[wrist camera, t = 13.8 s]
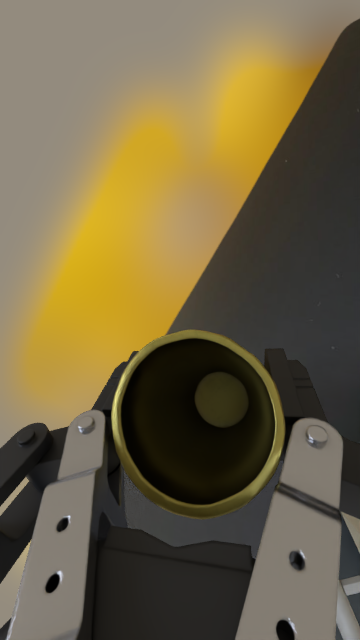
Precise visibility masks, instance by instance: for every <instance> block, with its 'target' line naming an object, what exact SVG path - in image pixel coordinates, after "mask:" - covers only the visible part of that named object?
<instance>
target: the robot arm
mask: <svg viewBox="0 0 360 640" xmlns="http://www.w3.org/2000/svg"><path fill="white" fill-rule="evenodd" d="M138 352H139V351H134V352H133V353H132V354H131V356H130V358H129V360H128V361H127V362H122V363H121V364H120V365H119V366H118V367H117V368H115V370H114V372H113V373H112V375H111V377H110V379H109V380H108V382H107V385H105V387H104V389H103V390H102V392H101V394H100V396H99V398H98V399H97V401H96V402H95V404H94V406H93V408H92V409H91V410H90V411H86V412H84V413H82V414H80V415H79V416H77V417H76V418H75V419H74V420H73V421H72V422H71V424H70V426H68V427H65V428H60V429H57V430H53V431H49V430H48V428H47V426H46V425H45V424H43V423H34V424H30V425H28V426H26V427H24V428H23V429H21V430H20V431H19V432H17V433H16V434H15V435H14V436H13V437H12V438H11V439H10V440H9V441H8V442H7V443H6V444H5V445H4V446H3V447H1V448H0V506H1V505H2V504H3V503H4V501H5V500H6V499H7V498H8V497H9V495H10V494H11V493H12V492H13V491H14V490H15V489H16V487H17V486H18V485H19V484H20V483H21V482H22V480H23V479H24V478H25V477H27V479H28V480H29V482H28V483H27V485H26V486H25V487H24V488H23V490H22V491H21V492H20V493H19V494H18V495H17V497H16V498H15V499H14V500H13V501H12V503H11V504H10V505H9V506H8V508H7V509H6V510H5V511H4V512H3V514H2V515H1V516H0V583H1V582H2V581H3V579H4V578H5V576H6V575H7V573H8V572H9V571H10V569H11V568H12V566H13V565H14V563H15V562H16V560H17V559H18V558H19V556H20V555H21V553H22V552H23V550H24V549H25V548H26V546H27V545H28V543H29V542H30V540H31V539H32V540H31V544H30V548H29V552H28V556H27V560H26V564H25V567H24V571H23V575H22V579H21V583H20V587H19V591H18V595H17V599H16V603H15V607H14V611H13V615H12V618H11V619H10V620H9V621H8V622H7V623H6V624H5V625H4V626H3V627H2V628H1V629H0V640H335V634H336V616H337V598H338V580H339V562H340V544H341V514H339V511H341V512H343V513H346V514H348V515H350V516H353V517H355V518H357V519H360V444H359V443H356V442H353V441H350V440H348V439H346V438H344V437H343V436H341V435H340V434H339V432H338V431H337V430H336V429H335V428H334V427H333V426H331V425H330V424H329V423H328V421H327V419H326V417H325V414H324V412H323V409H322V407H321V404H320V402H319V399H318V397H317V394H316V392H315V389H314V388H313V384H312V382H311V380H310V377H309V374H308V372H307V369H306V368H305V367H304V366H303V365H302V364H301V363H300V362H299V361H298V360H287V358H286V355H285V352H284V349H265V365H264V367H265V369H266V370H267V371H268V372H269V374H270V376H271V377H272V379H273V380H274V382H275V384H276V387H277V389H278V391H279V395H280V399H281V403H282V408H283V413H284V419H285V440H284V446H283V451H282V455H281V458H280V460H283V461H284V462H283V466H282V470H281V474H280V478H279V481H278V484H277V485H276V486H275V489H274V493H273V496H272V500H271V504H270V508H269V511H268V515H267V519H266V523H265V527H264V531H263V534H262V538H261V542H260V546H259V550H258V554H257V557H256V559H254V558H252V556H251V546H247V545H241V544H234V543H227V542H220V541H208V542H202V543H197V544H191V545H186V546H181V547H173V546H170V545H169V544H167V543H165V542H163V541H161V540H159V539H157V538H156V537H154V536H152V535H150V534H148V533H146V532H144V531H143V530H138V529H131V528H128V525H127V521H126V516H125V503H124V468H123V466H122V464H121V461H120V459H119V457H118V455H117V452H116V448H115V443H114V438H113V431H112V420H111V412H112V404H113V400H114V395H115V392H116V390H117V387H118V384H119V381H120V379H121V376H122V374H123V372H124V370H125V368H126V367H127V365H128V364H129V362H130V361H131V360H132V358H133V357H134V356H135V355H136V354H137V353H138Z"/></svg>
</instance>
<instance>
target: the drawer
mask: <svg viewBox="0 0 360 640" xmlns="http://www.w3.org/2000/svg"><path fill="white" fill-rule="evenodd" d="M341 514H342V516H343V518H344V520H345V522H346V524H347V527H348V529H349V531H350V533H351V535H352V537H353V540H354V542H355V544H356V546H357V548H358V550H359V553H360V519H357V518H355V517H353V516H350V515H348V514H346V513H343V512H341ZM359 592H360V575H359V576H355V577H351V578H347V579H343V580H338V598H337V616H336V623H337V625H338V628H339V630H340V633H341V635H342V637H343V640H360V627H359V624H358V622H357V620H356V617H355V615H354V613H353V610H352V608H351V606H350V603H349V601H348V599H347V596H346V595H351V594H355V593H359Z"/></svg>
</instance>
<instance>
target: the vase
mask: <svg viewBox="0 0 360 640" xmlns="http://www.w3.org/2000/svg"><path fill="white" fill-rule="evenodd" d="M111 420H112V431H113V438H114V443H115V448H116V452H117V455H118V457H119V459H120V461H121V464H122V466H123V468H124V470H125V473H126V474H127V475H128V477H129V478H130V479H131V481H132V482H133V483H134V485H135V486H136V487H137V488H138V489H139V490H140V491H141V492H142V493H143V494H144V496H145V497H147V498H148V499H149V500H151V501H152V502H153V503H154V504H156V505H158V506H159V507H161V508H163V509H165V510H167V511H169V512H172V513H174V514H177V515H180V516H184V517H188V518H193V519H210V518H215V517H219V516H222V515H225V514H228V513H231V512H234V511H236V510H238V509H240V508H242V507H243V506H245V505H246V504H247V503H249V502H250V501H251V500H252V499H253V498H254V497H255V496H256V495H257V494H258V493H259V492H260V491H261V490H262V489H263V488H264V487H265V486H266V485H267V483H268V482H269V481H270V479H271V478H272V476H273V475H274V473H275V471H276V469H277V467H278V465H279V462H280V458H281V455H282V451H283V446H284V440H285V419H284V413H283V408H282V403H281V399H280V395H279V391H278V389H277V387H276V384H275V382H274V380H273V379H272V377H271V376H270V374H269V372H268V371H267V370H266V369H265V367H264V366H263V365H262V363H261V362H260V361H259V360H258V359H257V358H256V356H254V355H252V354H251V353H250V352H248V351H247V350H245V349H244V348H243V347H241V346H240V345H239V344H237V343H236V342H234V341H233V340H231V339H230V338H228V337H225V336H223V335H219V334H215V333H211V332H207V331H202V330H184V331H180V332H176V333H172V334H169V335H165V336H162V337H160V338H158V339H155V340H153V341H152V342H150V343H149V344H147V345H146V346H145V347H144V348H142V349H141V350H140V351H139V352H138V353H137V354H136V355H135V356H134V357H133V358H132V360H131V361H130V362H129V364H128V365H127V367H126V368H125V370H124V372H123V374H122V376H121V379H120V381H119V384H118V387H117V390H116V392H115V395H114V400H113V404H112V412H111Z"/></svg>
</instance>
